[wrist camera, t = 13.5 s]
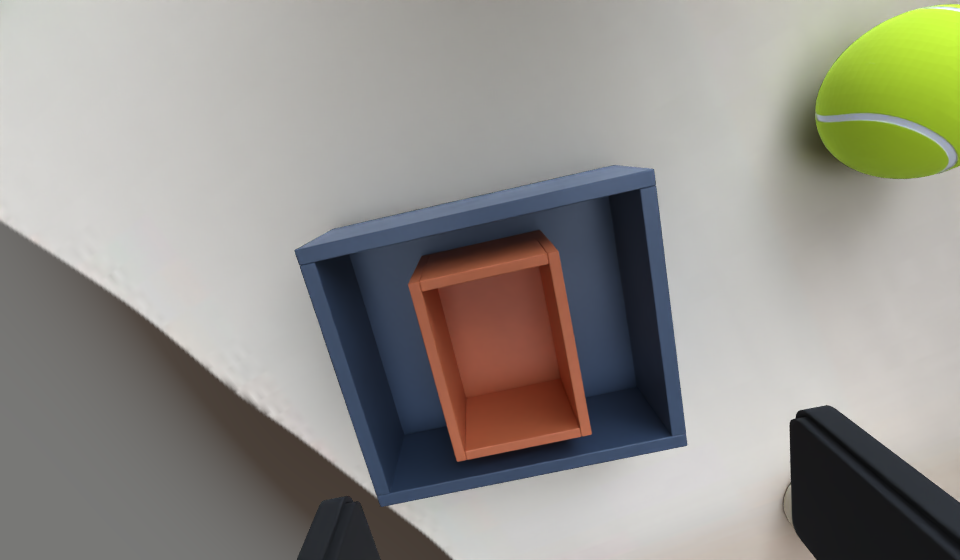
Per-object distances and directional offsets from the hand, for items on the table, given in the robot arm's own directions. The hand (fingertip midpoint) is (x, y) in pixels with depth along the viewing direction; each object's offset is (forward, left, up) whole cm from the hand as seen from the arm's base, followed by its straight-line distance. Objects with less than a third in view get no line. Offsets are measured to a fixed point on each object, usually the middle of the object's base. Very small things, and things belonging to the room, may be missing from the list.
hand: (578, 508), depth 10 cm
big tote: (+1, -1, -17) cm, 17 cm away
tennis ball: (-6, +19, -17) cm, 26 cm away
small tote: (+1, -1, -16) cm, 16 cm away
